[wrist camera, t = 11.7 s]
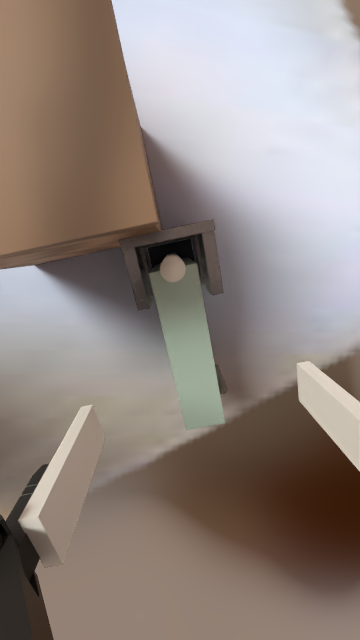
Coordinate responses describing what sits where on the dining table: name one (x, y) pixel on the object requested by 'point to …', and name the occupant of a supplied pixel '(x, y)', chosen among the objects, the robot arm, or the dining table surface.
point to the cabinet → (67, 135)
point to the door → (188, 341)
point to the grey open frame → (138, 245)
